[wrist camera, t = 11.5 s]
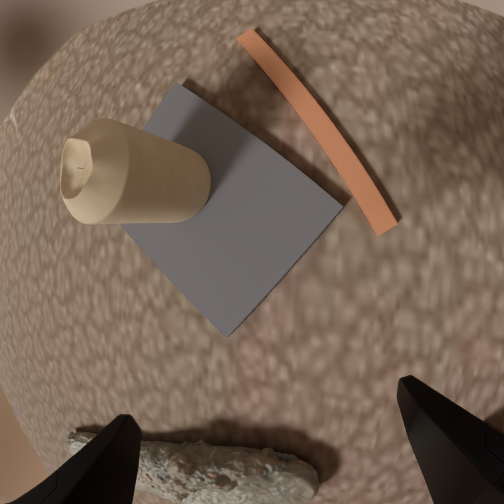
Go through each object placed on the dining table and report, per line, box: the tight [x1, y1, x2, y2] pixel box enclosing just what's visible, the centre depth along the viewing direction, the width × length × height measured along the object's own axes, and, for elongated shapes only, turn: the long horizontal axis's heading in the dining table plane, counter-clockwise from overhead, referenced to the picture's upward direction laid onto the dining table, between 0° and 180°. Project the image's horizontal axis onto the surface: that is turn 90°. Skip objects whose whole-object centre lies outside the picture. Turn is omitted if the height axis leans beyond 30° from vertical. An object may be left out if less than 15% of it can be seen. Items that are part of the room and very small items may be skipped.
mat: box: [120, 82, 344, 338], centre depth 22 cm, size 16×12×1 cm
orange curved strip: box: [236, 28, 398, 236], centre depth 19 cm, size 18×2×1 cm, turn 32°
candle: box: [60, 118, 211, 224], centre depth 17 cm, size 6×6×10 cm
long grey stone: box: [66, 431, 319, 504], centre depth 25 cm, size 35×5×10 cm
